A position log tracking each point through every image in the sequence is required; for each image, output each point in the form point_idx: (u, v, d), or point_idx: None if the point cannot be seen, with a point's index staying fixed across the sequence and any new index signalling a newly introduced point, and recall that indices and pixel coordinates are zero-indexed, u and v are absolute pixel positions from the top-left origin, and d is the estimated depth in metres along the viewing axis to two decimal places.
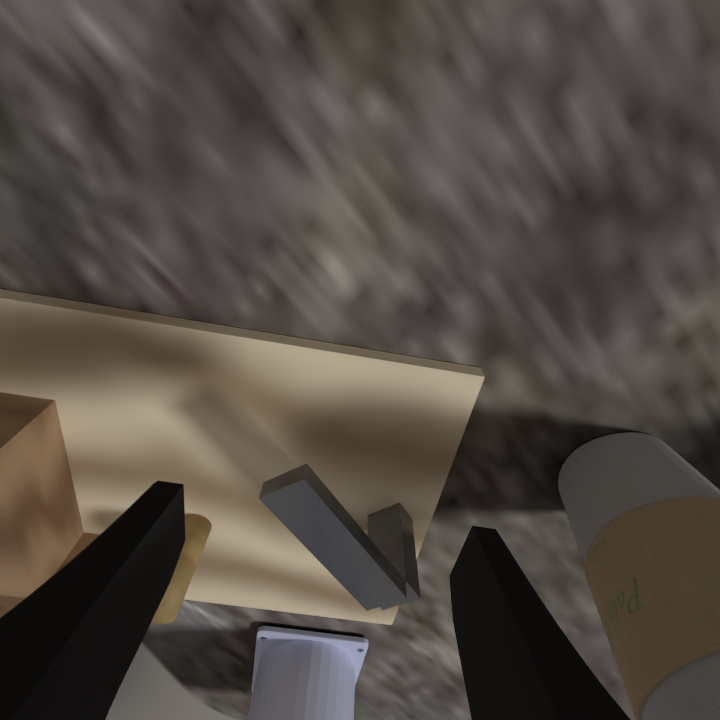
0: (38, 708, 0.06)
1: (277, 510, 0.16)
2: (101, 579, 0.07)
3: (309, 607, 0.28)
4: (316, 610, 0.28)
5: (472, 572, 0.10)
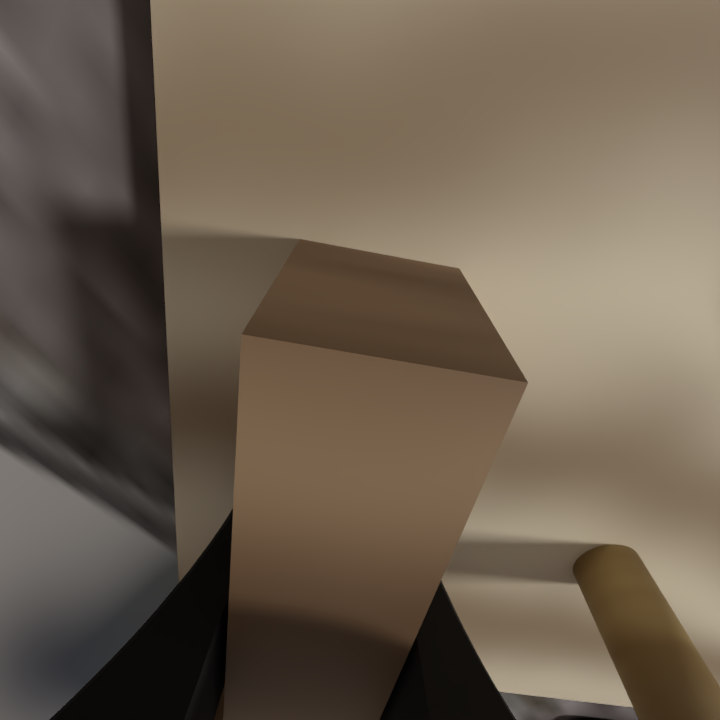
0: None
1: None
2: (220, 594, 0.07)
3: None
4: None
5: None
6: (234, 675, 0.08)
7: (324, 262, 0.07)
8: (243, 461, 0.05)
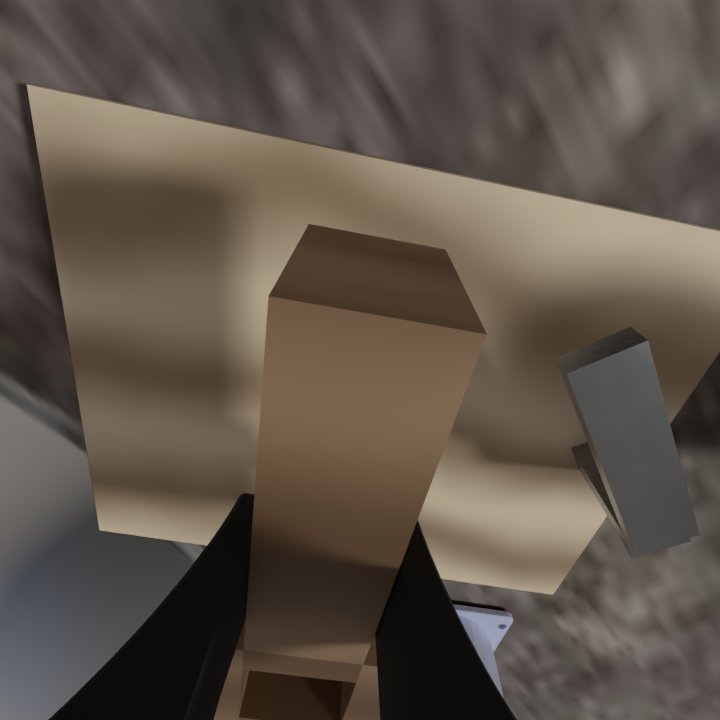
0: None
1: (584, 394, 0.11)
2: (219, 594, 0.07)
3: (459, 571, 0.23)
4: (467, 575, 0.23)
5: None
6: (255, 589, 0.09)
7: (330, 243, 0.08)
8: (267, 399, 0.07)
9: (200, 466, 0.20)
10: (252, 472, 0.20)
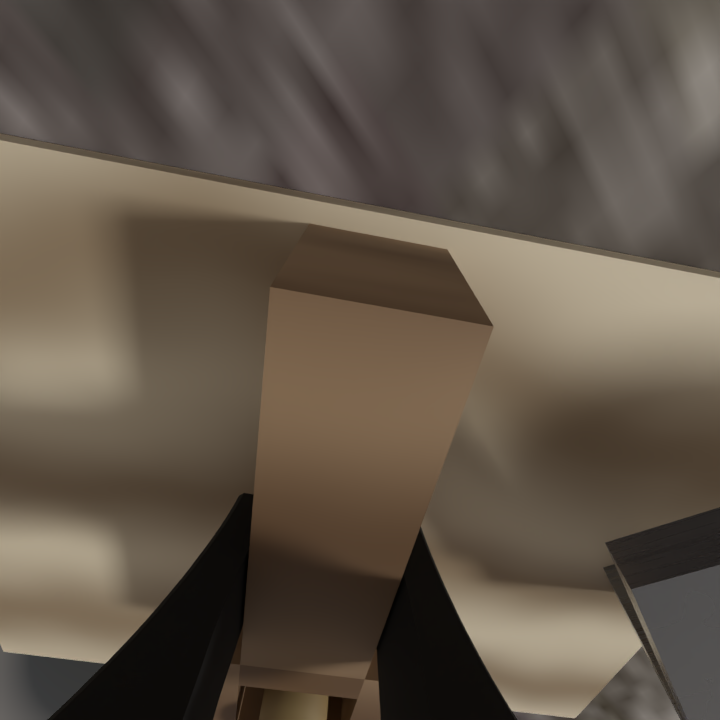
0: None
1: (659, 614, 0.07)
2: (219, 594, 0.07)
3: None
4: None
5: None
6: (253, 598, 0.09)
7: (331, 241, 0.08)
8: (267, 395, 0.06)
9: (118, 586, 0.15)
10: None
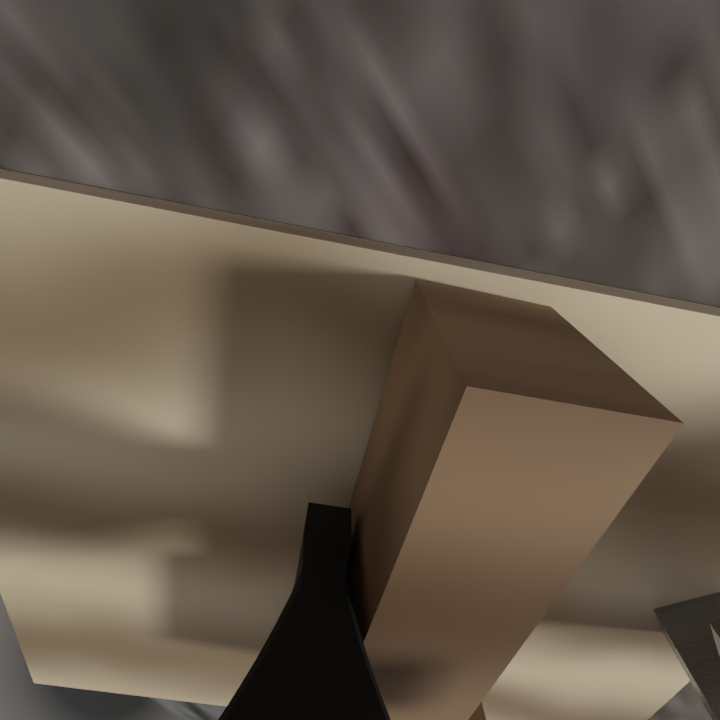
0: None
1: None
2: (332, 608, 0.08)
3: None
4: None
5: None
6: None
7: (454, 305, 0.08)
8: (432, 488, 0.06)
9: (156, 622, 0.15)
10: (224, 628, 0.15)
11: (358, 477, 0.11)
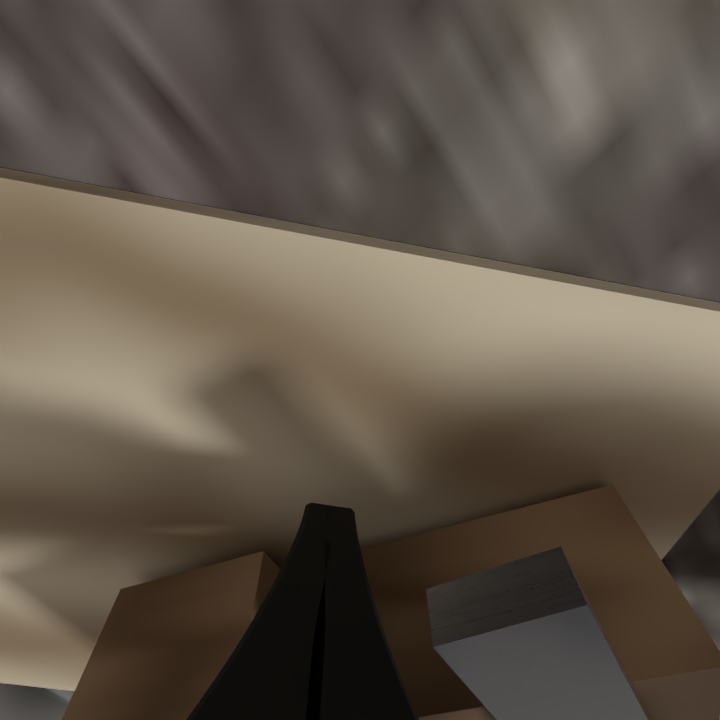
0: None
1: (475, 673, 0.06)
2: (310, 606, 0.08)
3: None
4: None
5: None
6: None
7: None
8: None
9: (18, 608, 0.15)
10: (89, 614, 0.15)
11: (409, 538, 0.12)
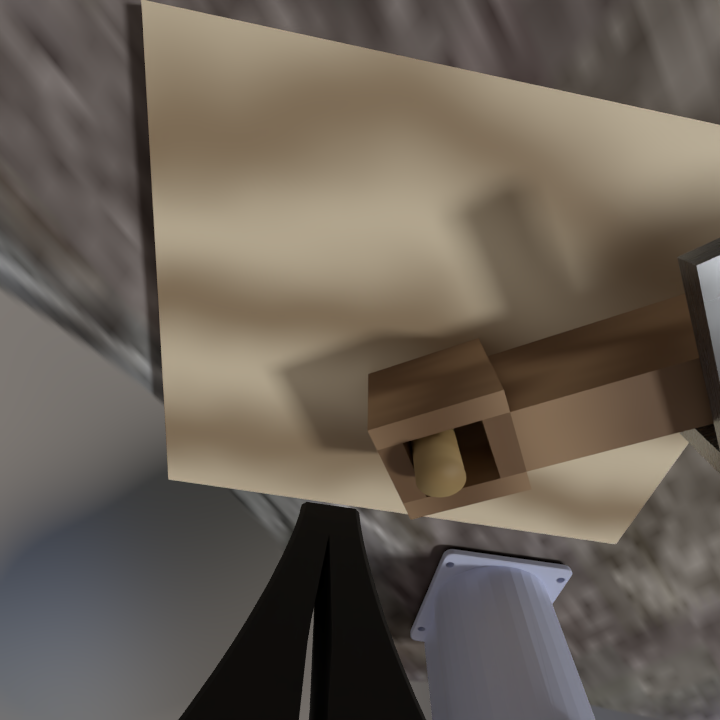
0: None
1: (711, 288, 0.11)
2: (304, 605, 0.08)
3: (524, 520, 0.23)
4: (531, 524, 0.23)
5: (324, 552, 0.10)
6: (590, 393, 0.15)
7: None
8: None
9: (275, 409, 0.20)
10: (326, 414, 0.20)
11: (581, 327, 0.18)
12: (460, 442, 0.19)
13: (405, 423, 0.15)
